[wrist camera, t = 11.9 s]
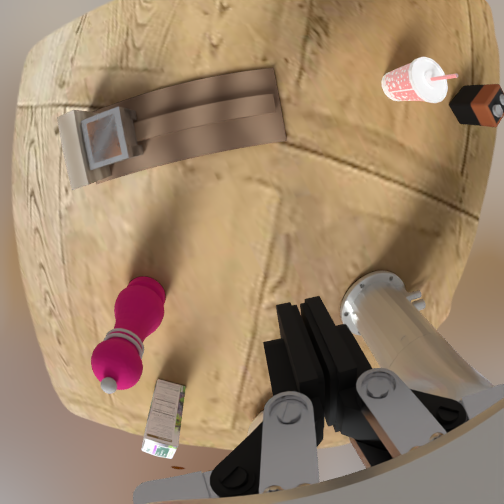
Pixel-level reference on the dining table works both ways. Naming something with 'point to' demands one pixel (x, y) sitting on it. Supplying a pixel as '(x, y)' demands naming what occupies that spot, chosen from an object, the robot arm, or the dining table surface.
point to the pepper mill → (129, 334)
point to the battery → (479, 105)
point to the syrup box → (164, 419)
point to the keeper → (110, 137)
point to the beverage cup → (417, 82)
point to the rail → (184, 123)
